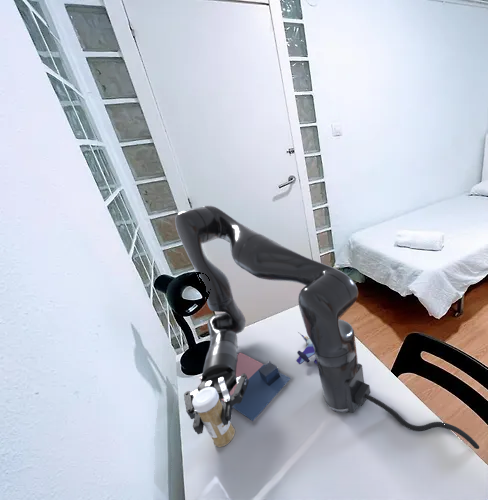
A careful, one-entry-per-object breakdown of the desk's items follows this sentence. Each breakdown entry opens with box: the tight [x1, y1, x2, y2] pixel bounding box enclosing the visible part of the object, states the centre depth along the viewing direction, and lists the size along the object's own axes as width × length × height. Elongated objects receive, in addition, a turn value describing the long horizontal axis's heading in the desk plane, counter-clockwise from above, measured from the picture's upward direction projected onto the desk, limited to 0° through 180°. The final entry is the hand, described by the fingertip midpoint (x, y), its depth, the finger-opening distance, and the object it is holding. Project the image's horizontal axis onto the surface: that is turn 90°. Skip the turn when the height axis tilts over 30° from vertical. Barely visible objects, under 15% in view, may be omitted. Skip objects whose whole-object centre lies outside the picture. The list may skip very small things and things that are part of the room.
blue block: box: [258, 360, 280, 386], centre depth 73 cm, size 4×4×4 cm
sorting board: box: [220, 351, 291, 422], centre depth 74 cm, size 21×13×1 cm, turn 58°
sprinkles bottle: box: [192, 387, 236, 448], centre depth 58 cm, size 5×5×14 cm
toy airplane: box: [295, 331, 317, 365], centre depth 81 cm, size 13×14×4 cm
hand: (211, 426), depth 56 cm, fingers closed on sprinkles bottle, 4 cm apart
